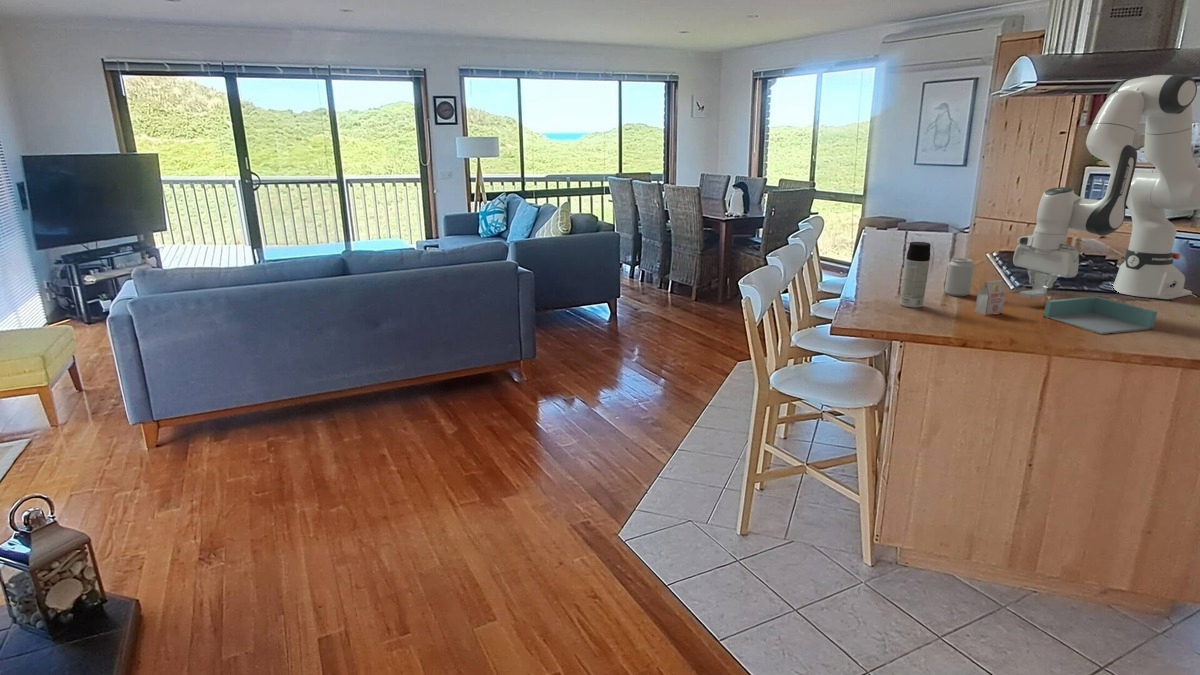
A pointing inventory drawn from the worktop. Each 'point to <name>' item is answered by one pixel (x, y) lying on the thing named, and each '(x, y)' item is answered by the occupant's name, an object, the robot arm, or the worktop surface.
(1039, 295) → the bracket
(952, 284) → the can
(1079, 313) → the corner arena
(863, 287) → the worktop surface
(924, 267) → the spray can
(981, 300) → the milk carton
